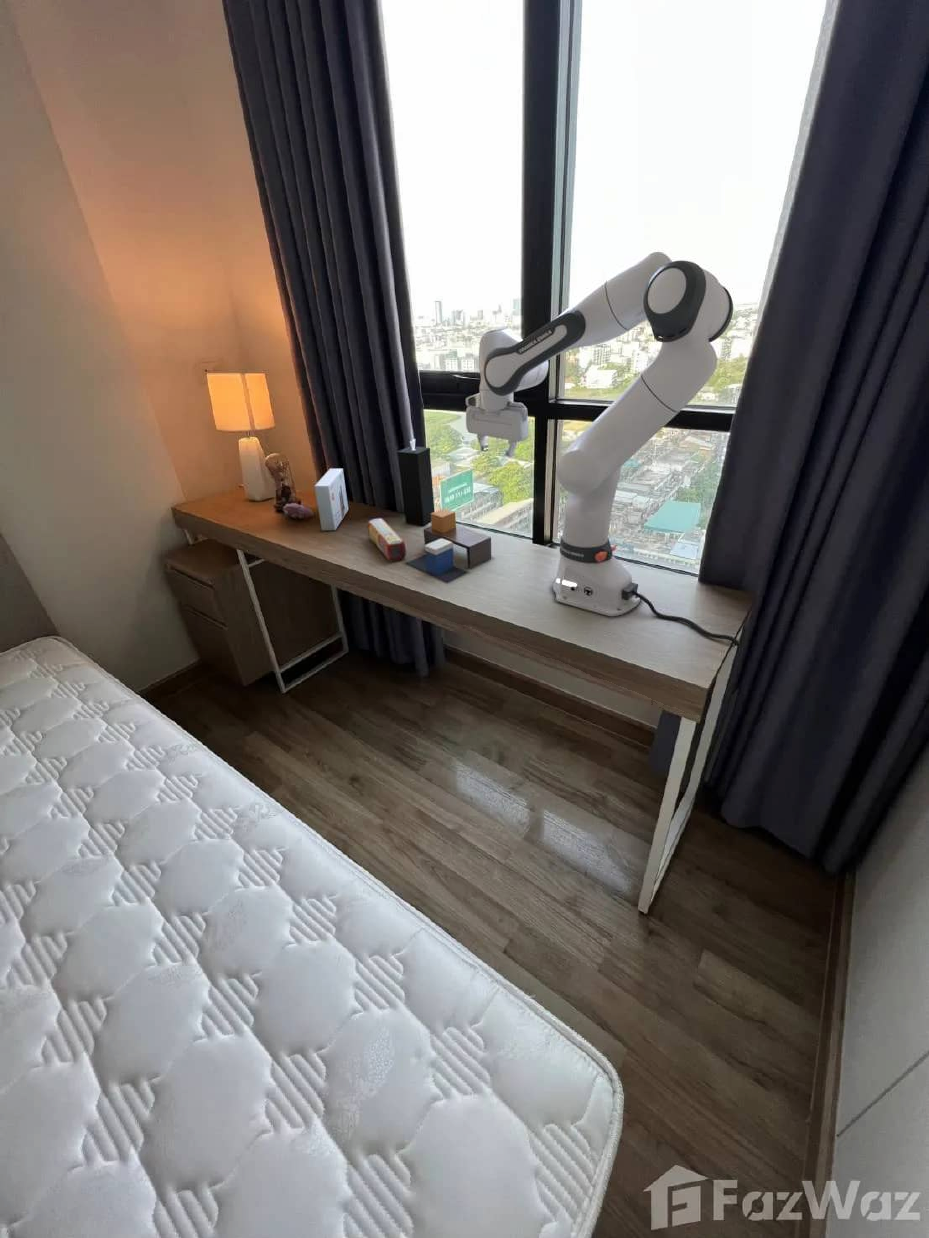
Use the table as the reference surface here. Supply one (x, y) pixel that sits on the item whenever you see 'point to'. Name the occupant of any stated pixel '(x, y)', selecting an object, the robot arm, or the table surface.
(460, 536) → the desk shelf
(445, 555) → the dark blue box
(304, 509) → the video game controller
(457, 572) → the felt pad
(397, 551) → the snack package
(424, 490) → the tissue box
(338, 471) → the skincare box
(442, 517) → the ochre box
